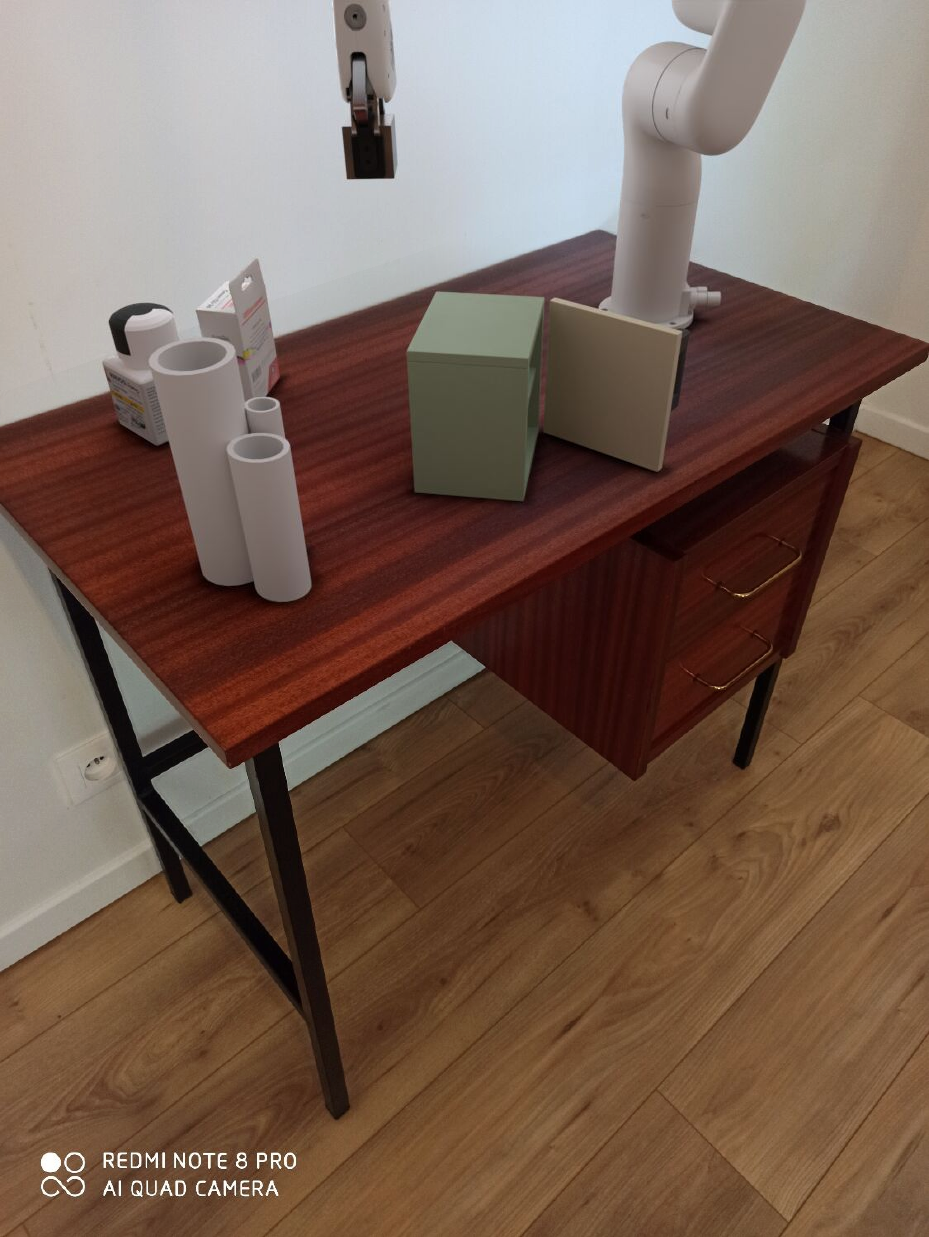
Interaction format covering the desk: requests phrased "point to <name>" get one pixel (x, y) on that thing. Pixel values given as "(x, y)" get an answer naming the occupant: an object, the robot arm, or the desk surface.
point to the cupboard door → (612, 381)
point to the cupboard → (476, 394)
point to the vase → (232, 470)
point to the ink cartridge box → (244, 328)
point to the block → (388, 138)
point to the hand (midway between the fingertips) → (372, 168)
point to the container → (138, 366)
